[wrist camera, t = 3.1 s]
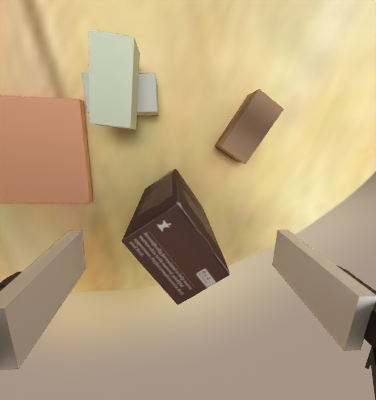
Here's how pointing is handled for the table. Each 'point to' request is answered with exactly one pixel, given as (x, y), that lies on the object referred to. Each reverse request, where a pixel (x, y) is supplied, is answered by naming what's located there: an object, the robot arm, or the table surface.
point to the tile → (43, 151)
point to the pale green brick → (113, 79)
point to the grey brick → (146, 93)
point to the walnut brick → (249, 126)
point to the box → (175, 239)
